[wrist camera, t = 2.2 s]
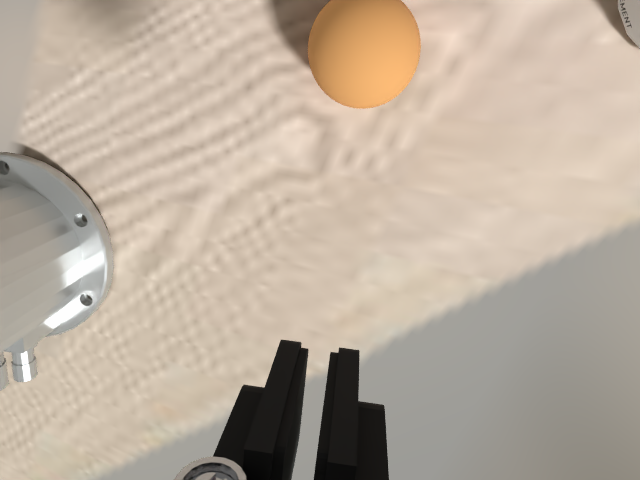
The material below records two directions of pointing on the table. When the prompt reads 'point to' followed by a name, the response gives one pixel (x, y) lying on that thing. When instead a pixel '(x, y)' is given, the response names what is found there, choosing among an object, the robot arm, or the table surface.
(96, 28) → the table surface
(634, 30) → the supplement can
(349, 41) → the ball
